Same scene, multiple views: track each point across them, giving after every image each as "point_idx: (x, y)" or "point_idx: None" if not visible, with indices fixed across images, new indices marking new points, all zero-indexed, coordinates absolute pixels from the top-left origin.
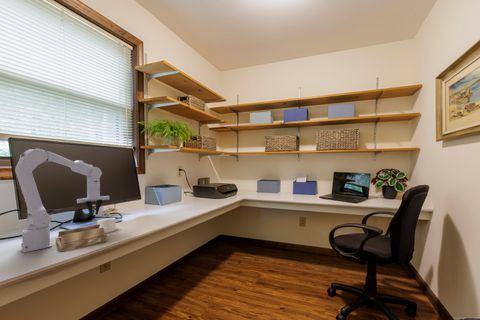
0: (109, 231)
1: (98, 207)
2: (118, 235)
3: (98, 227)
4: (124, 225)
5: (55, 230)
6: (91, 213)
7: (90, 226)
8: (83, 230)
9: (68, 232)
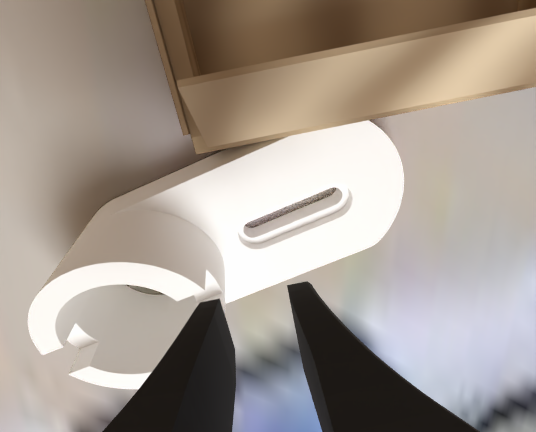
0: (129, 194)
1: (144, 418)
2: (24, 20)
3: (204, 117)
4: None
5: (460, 407)
6: (302, 298)
7: (296, 58)
8: (360, 88)
9: (518, 46)
